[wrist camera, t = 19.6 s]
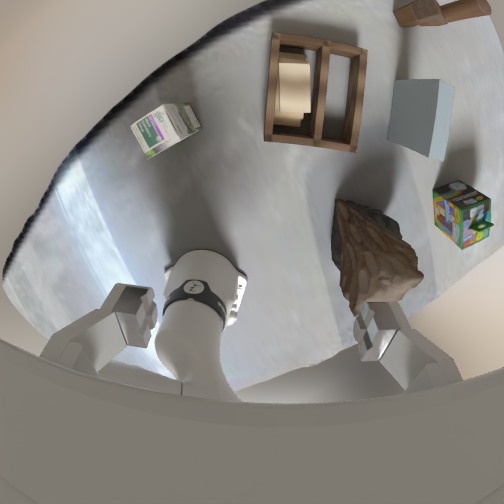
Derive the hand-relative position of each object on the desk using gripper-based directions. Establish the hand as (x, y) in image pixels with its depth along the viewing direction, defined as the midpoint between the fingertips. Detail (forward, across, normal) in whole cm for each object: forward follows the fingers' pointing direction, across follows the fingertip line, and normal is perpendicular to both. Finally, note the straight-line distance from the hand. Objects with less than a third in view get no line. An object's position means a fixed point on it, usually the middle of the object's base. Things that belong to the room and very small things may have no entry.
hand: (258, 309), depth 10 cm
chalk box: (+41, +43, -6) cm, 60 cm away
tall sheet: (+41, +25, +10) cm, 49 cm away
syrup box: (+41, -14, +3) cm, 44 cm away
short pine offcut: (+37, +4, +10) cm, 39 cm away
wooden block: (+41, +28, +32) cm, 59 cm away
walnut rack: (+41, +8, +10) cm, 43 cm away
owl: (+41, +20, -14) cm, 48 cm away
